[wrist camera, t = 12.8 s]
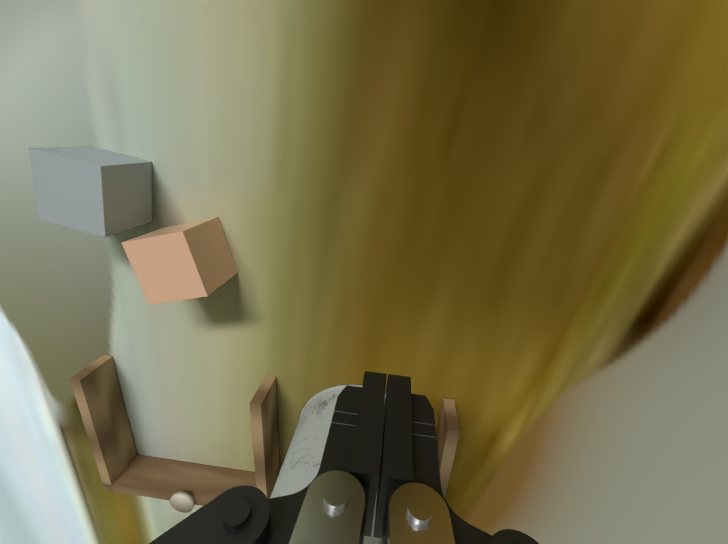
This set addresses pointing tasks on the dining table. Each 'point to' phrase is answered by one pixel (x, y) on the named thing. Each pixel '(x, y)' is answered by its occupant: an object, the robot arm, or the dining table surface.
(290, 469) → the speckled white canister
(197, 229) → the block terracotta
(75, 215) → the block slate
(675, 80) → the dining table surface
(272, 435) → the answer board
